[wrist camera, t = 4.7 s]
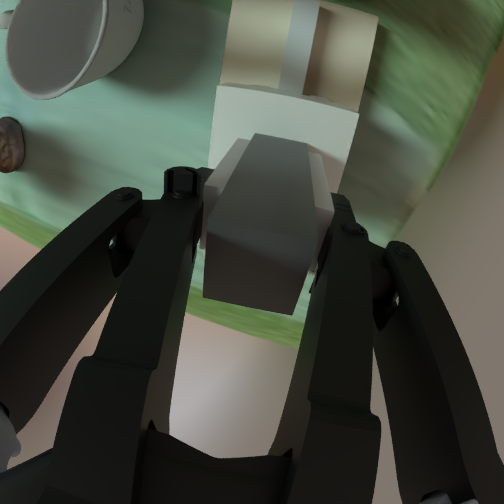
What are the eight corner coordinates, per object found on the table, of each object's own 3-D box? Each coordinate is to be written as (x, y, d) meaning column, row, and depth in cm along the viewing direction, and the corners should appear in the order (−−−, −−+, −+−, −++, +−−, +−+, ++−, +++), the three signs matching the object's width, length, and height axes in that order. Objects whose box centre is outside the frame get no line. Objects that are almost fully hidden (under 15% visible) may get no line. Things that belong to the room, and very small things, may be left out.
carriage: (232, 81, 18) (122, 119, 6) (346, 104, 18) (434, 183, 6) (219, 181, 23) (142, 324, 11) (320, 202, 23) (336, 364, 11)
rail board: (240, -6, 15) (230, -17, 13) (371, 20, 15) (384, 13, 12) (207, 248, 30) (198, 270, 27) (305, 268, 30) (305, 292, 27)
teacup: (185, 5, 16) (137, -15, 10) (115, 104, 22) (56, 128, 15) (84, -42, 12) (27, -53, 5) (33, 46, 17) (-25, 58, 11)
